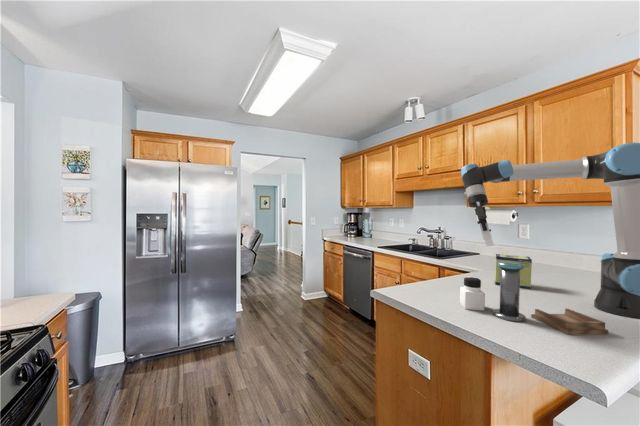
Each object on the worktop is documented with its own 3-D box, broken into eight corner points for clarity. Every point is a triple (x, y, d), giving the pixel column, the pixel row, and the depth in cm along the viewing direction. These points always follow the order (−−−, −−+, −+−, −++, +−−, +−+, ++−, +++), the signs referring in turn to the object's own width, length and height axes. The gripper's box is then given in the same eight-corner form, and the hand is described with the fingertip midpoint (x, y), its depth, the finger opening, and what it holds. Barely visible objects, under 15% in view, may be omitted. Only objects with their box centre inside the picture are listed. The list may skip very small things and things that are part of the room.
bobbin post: (511, 311, 107) (512, 260, 107) (532, 321, 97) (534, 266, 97) (487, 311, 106) (488, 260, 106) (506, 322, 96) (508, 266, 96)
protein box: (531, 289, 138) (532, 259, 137) (494, 284, 146) (495, 256, 146) (528, 285, 147) (529, 256, 146) (494, 280, 155) (495, 253, 155)
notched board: (566, 316, 102) (566, 307, 102) (608, 334, 88) (608, 323, 88) (531, 317, 101) (531, 307, 101) (568, 334, 87) (568, 323, 87)
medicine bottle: (484, 311, 107) (485, 280, 107) (464, 309, 108) (465, 279, 108) (477, 304, 114) (478, 276, 114) (459, 303, 115) (460, 275, 115)
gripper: (470, 207, 133) (481, 249, 126) (463, 189, 114) (475, 237, 106) (488, 203, 130) (500, 246, 122) (483, 183, 110) (497, 234, 102)
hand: (488, 242), depth 114 cm, fingers open, 13 cm apart
